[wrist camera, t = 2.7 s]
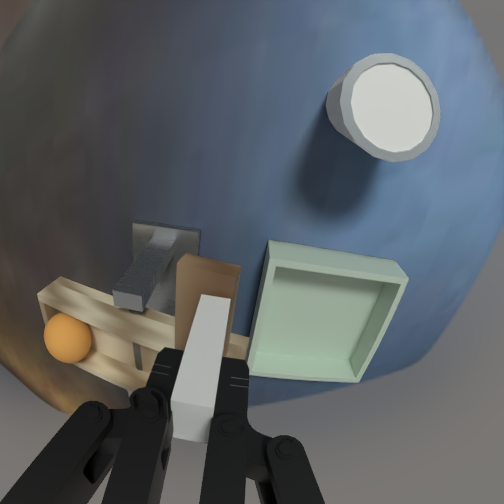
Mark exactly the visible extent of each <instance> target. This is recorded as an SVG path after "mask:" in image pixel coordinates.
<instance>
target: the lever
mask: <svg viewBox="0 0 504 504" xmlns="http://www.w3.org/2000/svg"><path fill="white" fill-rule="evenodd" d="M240 272H241V266H238V265H234V264H230V263H226V262H221V261H217V260H213V259H209V258H205V257H201V256H197V255H193V254H189V253H186V254H185V255H184V256H183V257H182V258H181V259H180V260H179V261H178V262H177V272H176V300H175V317H174V316H171V315H168V314H165V313H161V312H158V311H155V310H152V309H149V308H146V307H145V308H144V310H143V312H141V311H136V310H131V309H126V308H122V307H117V306H114V300H113V296H111V295H108V294H105V293H103V292H100V291H97V290H95V289H92V288H89V287H87V286H84V285H81V284H79V283H76V282H74V281H71V280H69V279H66V278H64V277H61V276H60V277H59V278H58V279H56V280H55V281H54V282H52V283H51V284H50V285H48V286H47V287H46V288H44V289H43V290H42V291H40V292H39V293H38V294H37V295H38V300H39V304H40V307H41V311H42V315H43V319H44V322H45V326H46V325H47V323H48V321H49V320H50V319H51V318H52V317H53V316H54V315H56V314H58V313H62V312H63V313H66V314H68V315H70V316H72V317H74V318H76V319H79V320H81V321H83V322H85V323H86V324H87V325H88V327H89V330H90V333H91V347H90V350H89V352H88V353H87V355H86V356H85V357H84V358H83V359H82V360H80V361H78V362H75V363H72V364H74V365H76V366H78V367H80V368H82V369H84V370H86V371H88V372H90V373H92V374H94V375H96V376H98V377H100V378H102V379H104V380H107V381H109V382H111V383H113V384H115V385H118V386H120V387H122V388H125V389H127V390H129V391H132V392H133V391H135V390H136V389H138V388H142V387H145V386H146V383H147V380H148V378H149V375H150V372H151V370H152V367H153V365H154V362H155V359H156V356H157V354H158V353H159V352H160V351H161V350H162V349H163V348H164V347H168V348H173V349H178V350H183V351H185V347H186V344H187V341H188V337H189V334H190V330H191V327H192V324H193V320H194V317H195V314H196V311H197V307H198V304H199V301H200V298H201V294H204V295H210V296H216V297H222V298H228V299H231V301H230V308H229V314H228V321H227V328H226V335H225V342H224V349H223V355H222V357H229V358H236V359H243V360H245V358H246V353H247V349H248V344H249V339H250V338H249V337H245V336H241V335H237V334H234V333H231V328H232V322H233V316H234V309H235V303H236V297H237V290H238V284H239V278H240Z"/></svg>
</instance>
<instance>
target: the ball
mask: <svg viewBox="0 0 504 504" xmlns="http://www.w3.org/2000/svg"><path fill="white" fill-rule="evenodd" d="M44 340H45V344H46V347H47V349H48V351H49V352H50V353H51V355H52V356H53V357H55V358H56V359H57V360H59V361H61V362H65V363H75V362H78V361H80V360H82V359H83V358H84V357H85V356H86V355H87V353H88V352H89V350H90V347H91V333H90V330H89V327H88V325H87V324H86V323H85V322H83V321H81V320H79V319H76V318H74V317H72V316H70V315H68V314H66V313H63V312H62V313H58V314H56V315H54V316H53V317H52V318H51V319H50V320H49V321H48V323H47V325H46V327H45V331H44Z"/></svg>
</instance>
